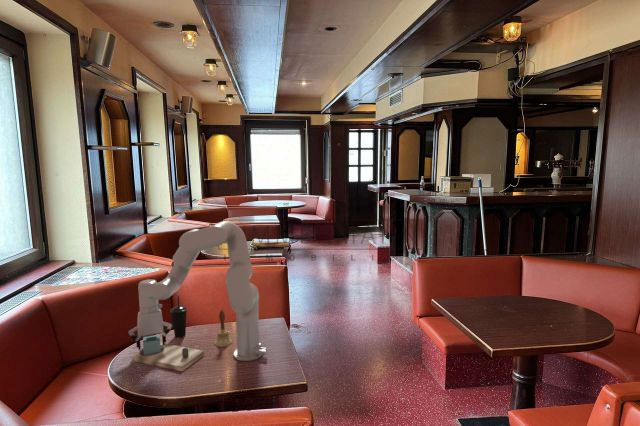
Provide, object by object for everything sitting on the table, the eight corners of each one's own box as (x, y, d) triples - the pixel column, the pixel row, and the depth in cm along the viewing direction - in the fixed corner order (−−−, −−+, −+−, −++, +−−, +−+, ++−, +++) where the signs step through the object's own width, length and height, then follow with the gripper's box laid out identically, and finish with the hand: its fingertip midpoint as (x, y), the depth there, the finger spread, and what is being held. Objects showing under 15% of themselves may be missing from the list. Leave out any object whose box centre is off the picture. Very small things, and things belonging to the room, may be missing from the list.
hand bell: (229, 346, 171) (228, 313, 169) (211, 346, 171) (210, 313, 169) (234, 338, 179) (233, 306, 177) (217, 338, 179) (215, 306, 177)
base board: (204, 355, 163) (203, 342, 162) (182, 371, 150) (181, 357, 149) (155, 345, 172) (154, 333, 172) (130, 360, 159) (129, 346, 158)
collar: (160, 345, 168) (159, 334, 167) (160, 351, 162) (159, 340, 162) (143, 348, 165) (143, 337, 165) (143, 354, 159) (143, 343, 159)
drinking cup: (168, 337, 180) (166, 297, 178) (180, 331, 187) (178, 292, 185) (179, 340, 177) (177, 300, 175) (191, 334, 184) (189, 295, 181)
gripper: (170, 302, 169) (172, 338, 171) (127, 309, 161) (129, 346, 163) (171, 308, 162) (173, 345, 164) (126, 315, 155) (129, 354, 157)
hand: (151, 346), depth 164 cm, fingers open, 9 cm apart
